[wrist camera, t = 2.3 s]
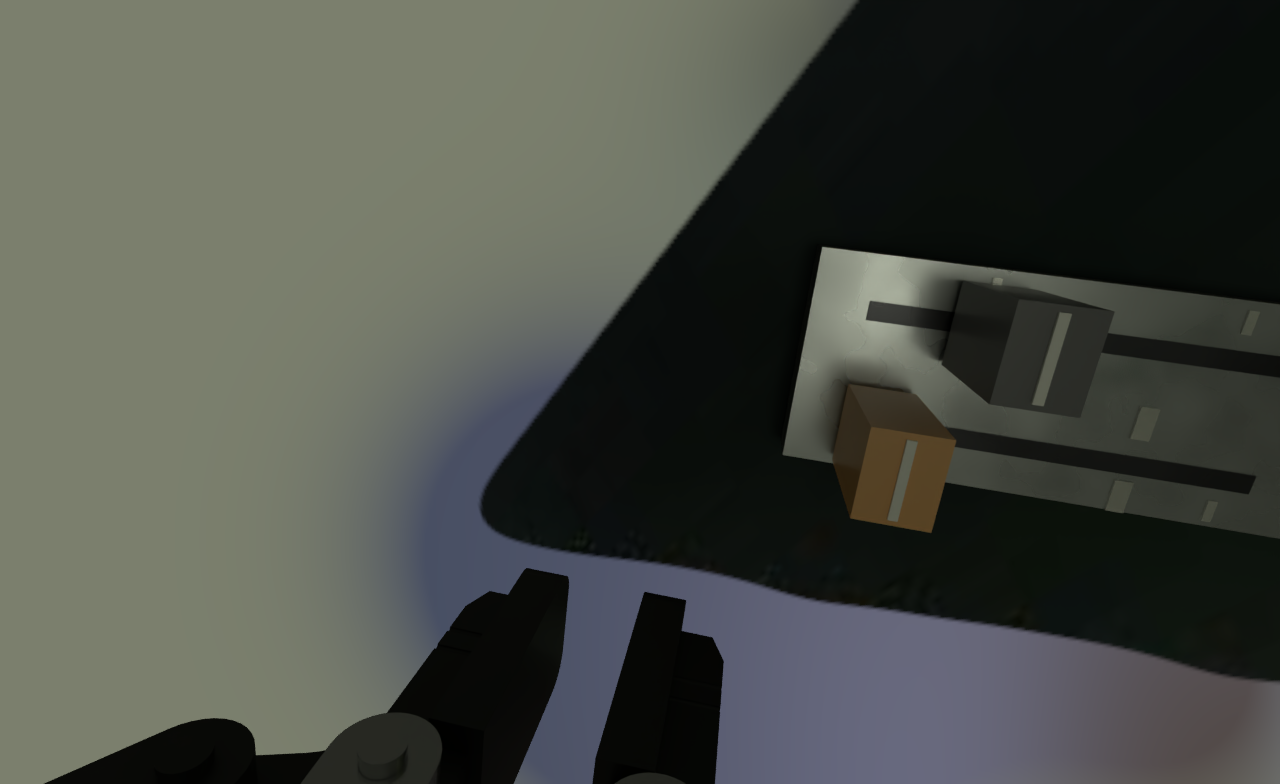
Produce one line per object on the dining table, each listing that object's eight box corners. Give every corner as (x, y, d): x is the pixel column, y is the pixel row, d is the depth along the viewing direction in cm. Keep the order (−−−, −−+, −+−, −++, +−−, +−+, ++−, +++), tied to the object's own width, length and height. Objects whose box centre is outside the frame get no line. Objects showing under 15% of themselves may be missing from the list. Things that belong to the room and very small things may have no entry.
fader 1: (848, 383, 24) (871, 427, 19) (915, 393, 24) (957, 441, 19) (832, 459, 25) (850, 519, 20) (897, 470, 24) (932, 534, 20)
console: (817, 244, 25) (822, 247, 23) (1341, 309, 23) (1398, 319, 21) (780, 437, 27) (782, 455, 25) (1252, 515, 25) (1296, 542, 23)
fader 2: (963, 280, 22) (1020, 299, 17) (1037, 289, 22) (1116, 312, 17) (941, 364, 23) (990, 405, 18) (1012, 375, 23) (1081, 419, 18)
